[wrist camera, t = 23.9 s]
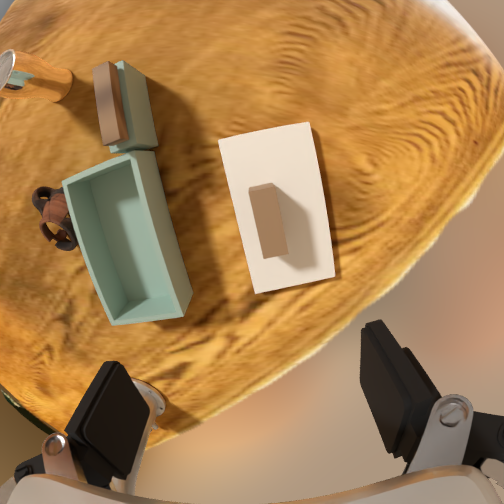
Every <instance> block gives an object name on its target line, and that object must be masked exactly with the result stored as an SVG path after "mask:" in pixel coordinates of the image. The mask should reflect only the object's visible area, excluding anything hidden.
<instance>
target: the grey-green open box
mask: <svg viewBox="0 0 504 504" xmlns="http://www.w3.org/2000/svg"><path fill="white" fill-rule="evenodd" d="M114 65H116V66H117V68H118V76H119V84H120V90H121V97H122V103H123V109H124V115H125V121H126V126H127V131H128V136H129V140H127V141H124V142H122V143H119V144H117V145H114V146H109V147H110V151H111V153H126V154H124V155H121V156H118V157H116V158H113V159H111V160H108V161H106V162H103V163H101V164H99V165H96V166H94V167H92V168H89V169H87V170H85V171H82V172H80V173H78V174H76V175H74V176H72V177H69V178H67V179H65V180H63V181H62V185H63V189H64V194H65V198H66V202H67V205H68V209H69V213H70V216H71V220H72V223H73V227H74V230H75V233H76V236H77V239H78V243H79V246H80V249H81V251H82V254H83V257H84V260H85V263H86V265H87V268H88V271H89V273H90V276H91V279H92V281H93V284H94V286H95V289H96V291H97V293H98V296H99V298H100V300H101V303H102V305H103V307H104V309H105V312H106V314H107V316H108V318H109V320H110V322H111V325H112V326H114V325H123V324H132V323H140V322H148V321H156V320H163V319H171V318H178V317H184V315H185V312H186V310H187V307H188V305H189V303H190V300H191V298H192V295H193V290H192V287H191V284H190V281H189V278H188V274H187V271H186V268H185V265H184V262H183V258H182V255H181V252H180V248H179V245H178V241H177V238H176V234H175V231H174V227H173V224H172V220H171V217H170V213H169V209H168V205H167V202H166V198H165V194H164V190H163V186H162V182H161V178H160V174H159V169H158V165H157V161H156V157H155V152H154V151H144V150H147V149H150V148H153V147H156V146H159V145H158V141H157V136H156V131H155V126H154V122H153V117H152V111H151V106H150V101H149V95H148V90H147V84H146V78H145V75H143V74H142V73H141V72H139V71H138V70H136V69H135V68H133V67H132V66H131V65H129V64H128V63H126V62H125V61H123V60H122V61H120V62H118V63H116V64H114Z"/></svg>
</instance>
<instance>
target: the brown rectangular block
mask: <svg viewBox="0 0 504 504" xmlns="http://www.w3.org/2000/svg"><path fill="white" fill-rule="evenodd" d="M92 70H93V81H94V90H95V98H96V105H97V112H98V118H99V125H100V130H101V136H102V141H103V146H114V145H117V144H119V143H122V142H124V141H127V140H129V136H128V131H127V126H126V121H125V115H124V109H123V103H122V97H121V90H120V84H119V76H118V68H117V66H116V65H114V64H113V63H111V62H109V61H107V62H105V63H103V64H101V65H99V66H97V67H95V68H93V69H92Z"/></svg>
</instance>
